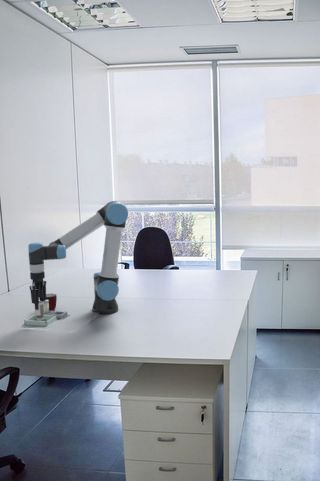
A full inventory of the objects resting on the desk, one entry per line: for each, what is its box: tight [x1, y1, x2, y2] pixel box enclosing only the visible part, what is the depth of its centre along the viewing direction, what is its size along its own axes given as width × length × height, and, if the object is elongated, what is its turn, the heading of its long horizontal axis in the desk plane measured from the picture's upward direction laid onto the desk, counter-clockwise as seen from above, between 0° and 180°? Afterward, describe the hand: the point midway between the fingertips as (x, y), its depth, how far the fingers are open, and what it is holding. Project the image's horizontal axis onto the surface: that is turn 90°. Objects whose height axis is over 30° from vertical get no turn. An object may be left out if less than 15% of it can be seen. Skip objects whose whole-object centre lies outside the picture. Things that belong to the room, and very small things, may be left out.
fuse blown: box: [36, 302, 44, 321], centre depth 257 cm, size 4×4×9 cm
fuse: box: [43, 300, 49, 314], centre depth 269 cm, size 4×4×9 cm
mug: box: [46, 293, 58, 311], centre depth 281 cm, size 11×8×10 cm
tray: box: [23, 314, 58, 327], centre depth 258 cm, size 14×11×3 cm
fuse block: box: [43, 310, 71, 320], centre depth 268 cm, size 18×8×3 cm, turn 73°
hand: (40, 313), depth 257 cm, fingers closed on fuse blown, 3 cm apart
